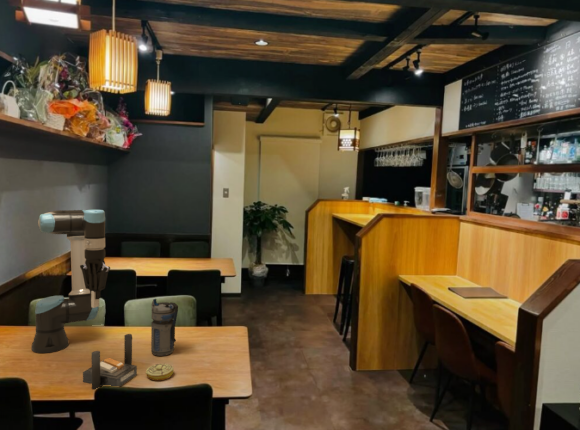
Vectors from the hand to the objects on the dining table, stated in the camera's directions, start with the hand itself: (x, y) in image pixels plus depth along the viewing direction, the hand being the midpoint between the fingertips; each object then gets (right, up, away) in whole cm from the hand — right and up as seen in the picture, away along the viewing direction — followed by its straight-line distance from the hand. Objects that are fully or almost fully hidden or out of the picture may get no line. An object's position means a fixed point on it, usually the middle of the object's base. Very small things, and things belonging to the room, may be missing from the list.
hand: (95, 306), depth 168 cm
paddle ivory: (+5, -24, -2) cm, 24 cm away
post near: (+3, -30, -7) cm, 31 cm away
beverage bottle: (+20, -28, +27) cm, 43 cm away
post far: (+9, -28, +11) cm, 32 cm away
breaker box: (+6, -29, +1) cm, 30 cm away
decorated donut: (+25, -30, +5) cm, 39 cm away
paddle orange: (+6, -24, +2) cm, 25 cm away
